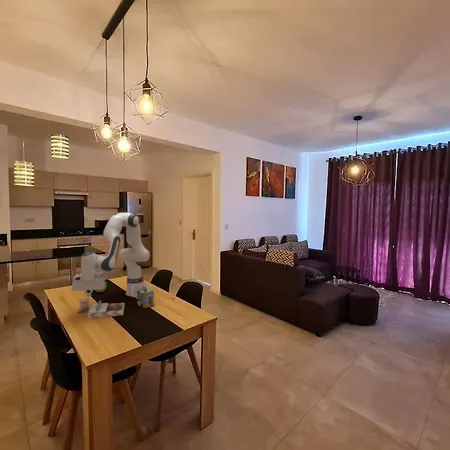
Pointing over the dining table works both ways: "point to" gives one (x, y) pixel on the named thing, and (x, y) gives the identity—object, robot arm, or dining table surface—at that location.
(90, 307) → the slate tile
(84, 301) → the terracotta knob
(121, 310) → the sliding lid box
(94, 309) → the sliding lid panel
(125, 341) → the dining table surface
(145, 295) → the chalk box
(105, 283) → the decorative tree
